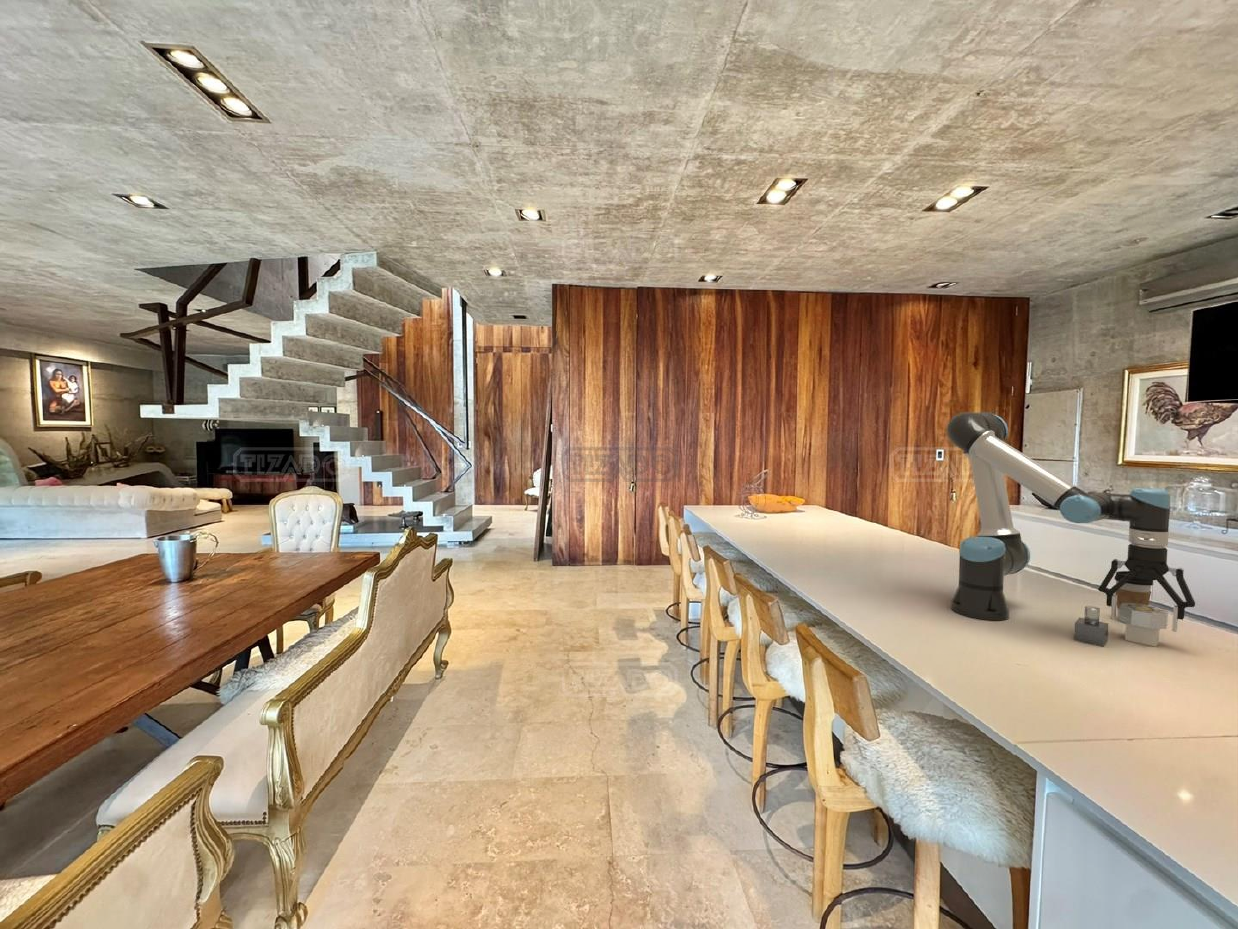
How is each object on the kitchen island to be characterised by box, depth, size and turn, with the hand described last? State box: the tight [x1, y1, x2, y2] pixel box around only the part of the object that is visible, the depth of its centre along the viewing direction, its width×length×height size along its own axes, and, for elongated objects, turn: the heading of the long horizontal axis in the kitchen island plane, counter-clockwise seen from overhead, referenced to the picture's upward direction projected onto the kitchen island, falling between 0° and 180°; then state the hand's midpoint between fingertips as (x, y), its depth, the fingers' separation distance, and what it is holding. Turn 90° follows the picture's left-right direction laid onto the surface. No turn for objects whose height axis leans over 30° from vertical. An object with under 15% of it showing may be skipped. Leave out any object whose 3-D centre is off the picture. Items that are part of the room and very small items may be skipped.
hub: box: [1124, 607, 1161, 648], centre depth 143 cm, size 6×6×9 cm
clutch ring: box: [1118, 603, 1169, 630], centre depth 143 cm, size 9×9×4 cm
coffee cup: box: [1114, 570, 1154, 624], centre depth 158 cm, size 8×8×15 cm
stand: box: [1073, 605, 1109, 648], centre depth 143 cm, size 6×6×9 cm
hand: (1143, 624), depth 143 cm, fingers open, 11 cm apart
